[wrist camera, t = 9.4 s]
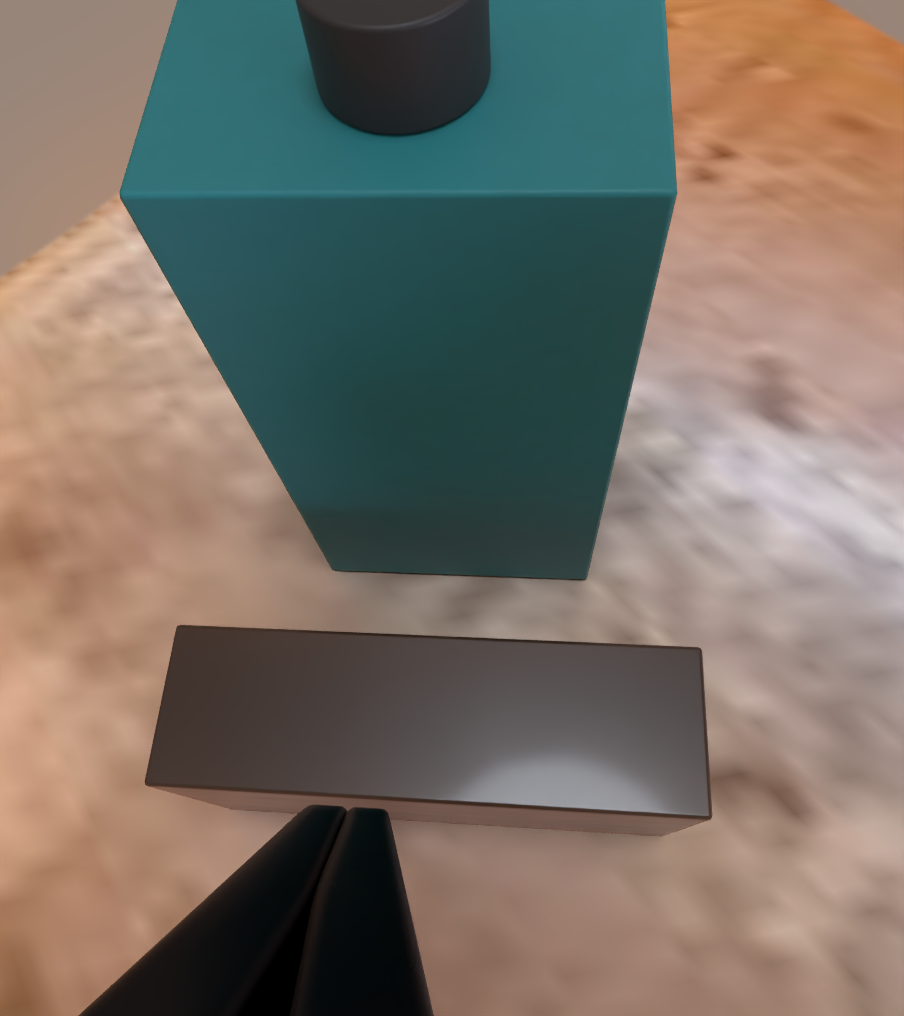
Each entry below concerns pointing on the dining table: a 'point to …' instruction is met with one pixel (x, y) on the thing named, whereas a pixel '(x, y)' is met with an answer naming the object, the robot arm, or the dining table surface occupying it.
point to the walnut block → (437, 728)
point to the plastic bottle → (419, 256)
